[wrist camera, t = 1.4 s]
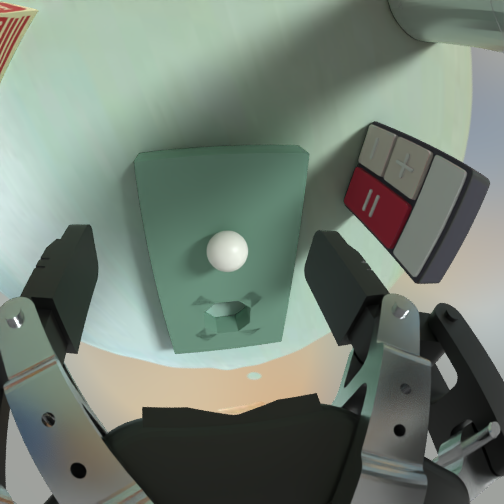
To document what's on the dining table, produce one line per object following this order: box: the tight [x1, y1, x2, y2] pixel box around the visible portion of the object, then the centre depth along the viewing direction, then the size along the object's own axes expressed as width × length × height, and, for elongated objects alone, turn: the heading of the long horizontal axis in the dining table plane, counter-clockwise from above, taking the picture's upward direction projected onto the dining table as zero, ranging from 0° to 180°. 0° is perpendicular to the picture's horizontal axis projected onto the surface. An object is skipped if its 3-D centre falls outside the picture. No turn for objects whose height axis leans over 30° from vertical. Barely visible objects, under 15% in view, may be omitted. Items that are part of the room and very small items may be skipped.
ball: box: [207, 230, 248, 272], centre depth 27 cm, size 4×4×4 cm
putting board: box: [134, 145, 309, 354], centre depth 33 cm, size 16×28×3 cm, turn 0°
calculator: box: [344, 121, 490, 284], centre depth 24 cm, size 11×4×15 cm, turn 169°
